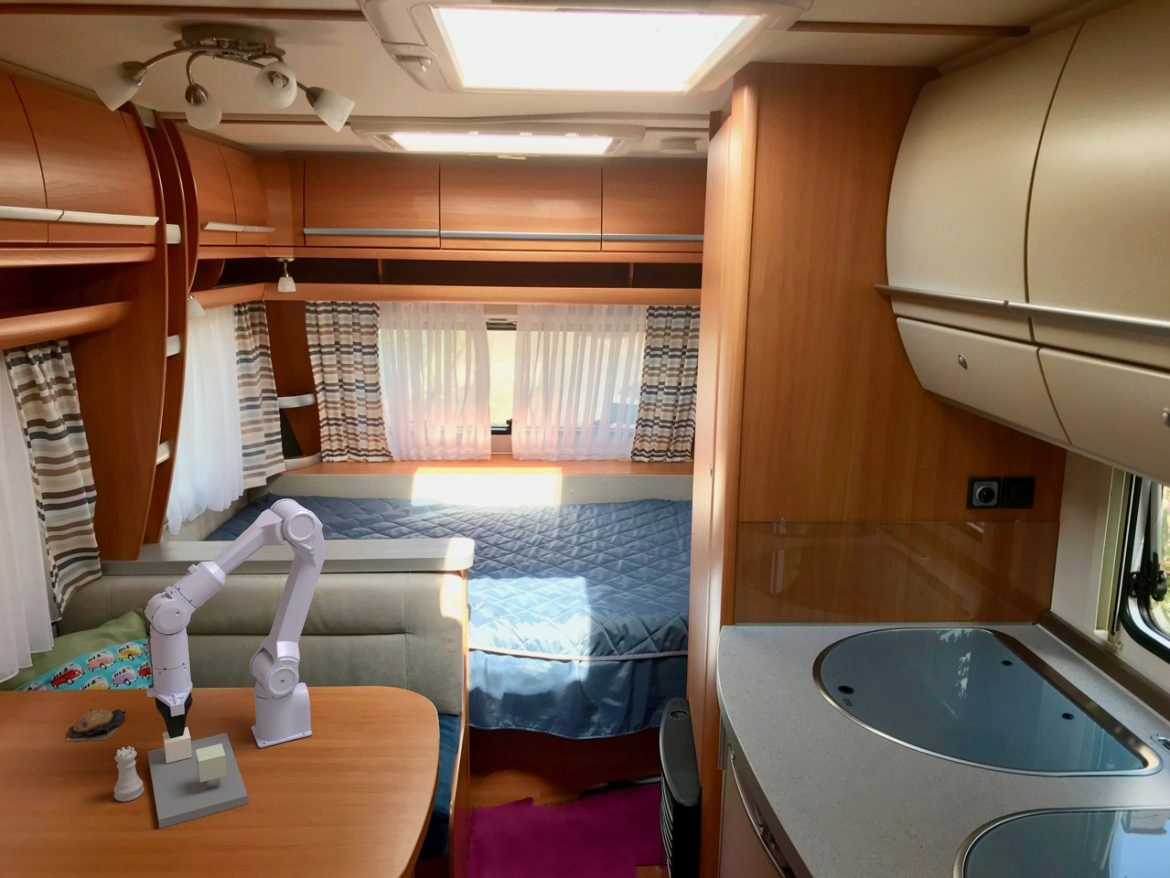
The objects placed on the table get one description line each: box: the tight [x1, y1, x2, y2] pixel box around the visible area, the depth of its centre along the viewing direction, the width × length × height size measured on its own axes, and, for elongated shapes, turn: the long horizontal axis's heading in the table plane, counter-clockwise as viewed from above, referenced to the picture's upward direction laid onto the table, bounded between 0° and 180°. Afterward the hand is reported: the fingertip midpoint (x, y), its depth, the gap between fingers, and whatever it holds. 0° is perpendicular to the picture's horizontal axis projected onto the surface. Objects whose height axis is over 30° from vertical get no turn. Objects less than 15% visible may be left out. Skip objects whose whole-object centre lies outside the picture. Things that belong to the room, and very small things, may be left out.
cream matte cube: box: [162, 726, 192, 763], centre depth 149 cm, size 4×4×4 cm
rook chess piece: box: [113, 745, 145, 803], centre depth 140 cm, size 4×4×8 cm
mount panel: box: [147, 732, 249, 829], centre depth 145 cm, size 13×22×4 cm, turn 31°
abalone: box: [64, 708, 127, 743], centre depth 161 cm, size 11×8×4 cm
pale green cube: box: [196, 744, 227, 782], centre depth 141 cm, size 4×4×4 cm
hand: (176, 735), depth 149 cm, fingers closed, pressing on cream matte cube
